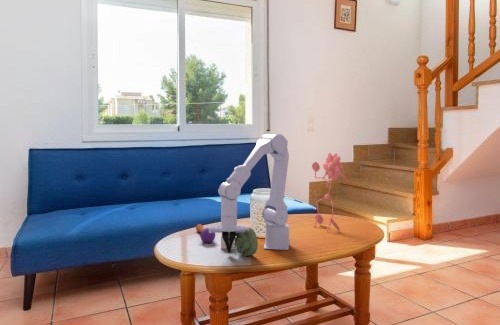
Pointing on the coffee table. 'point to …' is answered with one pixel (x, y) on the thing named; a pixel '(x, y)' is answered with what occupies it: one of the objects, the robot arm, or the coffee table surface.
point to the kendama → (205, 234)
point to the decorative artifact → (246, 242)
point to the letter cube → (223, 245)
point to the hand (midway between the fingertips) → (229, 251)
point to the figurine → (333, 171)
